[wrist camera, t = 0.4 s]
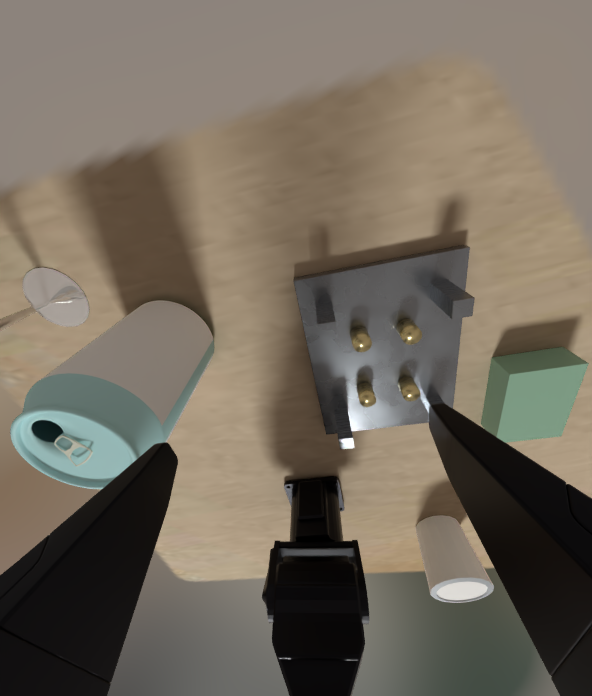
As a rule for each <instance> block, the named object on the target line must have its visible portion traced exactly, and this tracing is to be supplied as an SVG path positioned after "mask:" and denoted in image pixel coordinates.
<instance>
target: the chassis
mask: <svg viewBox="0 0 592 696" xmlns="http://www.w3.org/2000/svg"><path fill="white" fill-rule="evenodd" d="M469 249H470V247H468V246H465V245H461V246H456V247H451V248H446V249H440V250H435V251H430V252H425V253H420V254H415V255H410V256H404V257H399V258H394V259H389V260H384V261H379V262H374V263H368V264H363V265H358V266H353V267H348V268H343V269H338V270H332V271H327V272H322V273H317V274H312V275H307V276H302V277H296V278H294V285H295V289H296V294H297V299H298V303H299V308H300V313H301V317H302V322H303V327H304V332H305V336H306V341H307V346H308V350H309V355H310V360H311V365H312V369H313V374H314V379H315V383H316V388H317V393H318V397H319V402H320V407H321V412H322V416H323V421H324V426H325V430H326V434H335V433H338V440H339V446H340V449H347V448H354V442H353V436H352V431H360V430H368V429H377V428H385V427H393V426H402V425H410V424H419V423H427V422H429V406H430V405H431V404H437V403H445V404H446V405H448V406H450V407H451V408H453V402H454V392H455V383H456V373H457V364H458V354H459V344H460V335H461V325H462V318H463V317H469V316H472V314H473V306H474V297H473V296H471V295H470V294H468V293H467V292H465V287H466V278H467V268H468V259H469Z"/></svg>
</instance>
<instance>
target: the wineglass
mask: <svg viewBox="0 0 592 696" xmlns="http://www.w3.org/2000/svg"><path fill="white" fill-rule="evenodd" d="M23 291H24V294H25V297H26V299H27V300H28V302H29V304H30V305H31V307H29V308H26V309H24V310H21V311H19V312H16V313H14V314H11V315H9V316H6V317H3V318H1V319H0V331H2V330H4V329H6V328H8V327H10V326H12V325H13V324H15V323H17V322H19V321H21V320H23V319H24V318H26V317H28V316H30V315H32V314H34V313H36V312H37V313H38V314H39V315H41V316H42V317H44V318H45V319H47V320H48V321H50V322H53V323H55V324H57V325H61V326H66V327H72V326H78V325H80V324H82V323H84V321H85V320H86V319H87V317H88V314H89V305H88V300H87V298H86V296H85V295H84V293H83V291H82V290H81V289H80V287H79V286H78V285H77V284H76V283H75V282H74V281H73V280H71V279H70V278H69V277H68V276H66V275H65V274H63V273H60V272H58V271H56V270H54V269H49V268H44V267H43V268H34V269H32V270H31V271H29V272H27V273H26V275H25V277H24V279H23Z"/></svg>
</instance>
